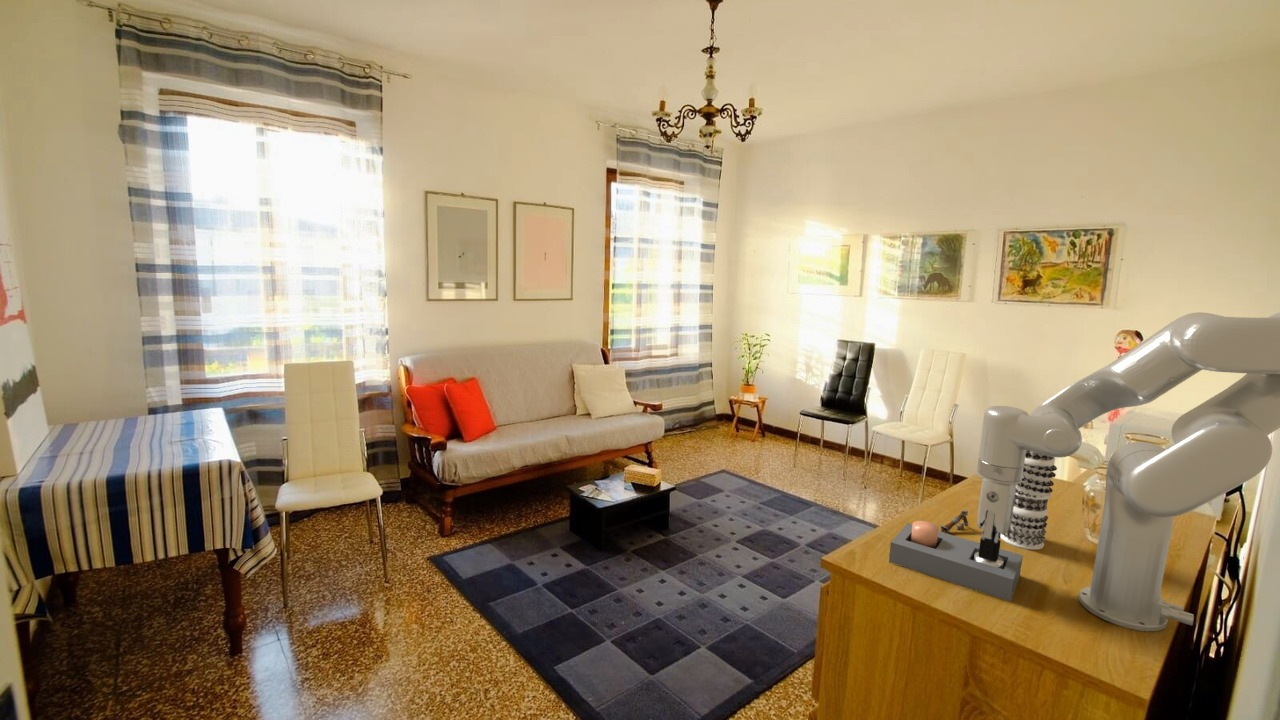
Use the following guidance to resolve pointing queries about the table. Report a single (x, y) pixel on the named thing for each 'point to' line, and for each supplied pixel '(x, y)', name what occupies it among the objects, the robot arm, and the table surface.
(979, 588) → the button housing
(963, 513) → the wooden post with brackets
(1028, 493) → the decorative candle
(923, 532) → the terracotta plunger
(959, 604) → the table surface
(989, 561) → the cream short cylinder
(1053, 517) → the table surface
